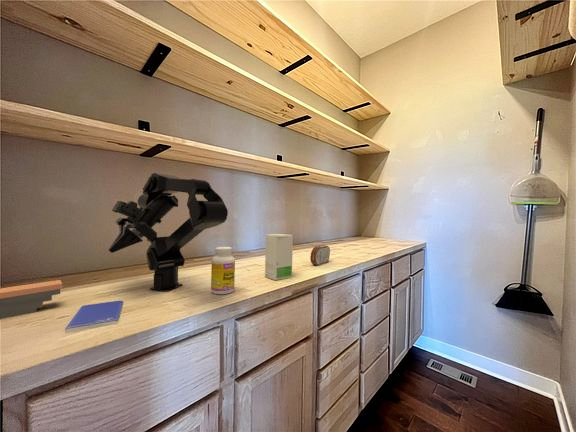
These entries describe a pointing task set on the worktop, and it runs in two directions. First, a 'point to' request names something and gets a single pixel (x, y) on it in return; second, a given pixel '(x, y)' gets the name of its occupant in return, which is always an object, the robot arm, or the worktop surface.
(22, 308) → the domino
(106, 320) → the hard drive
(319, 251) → the tin
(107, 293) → the worktop surface
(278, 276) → the skincare box
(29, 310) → the domino
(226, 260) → the supplement bottle
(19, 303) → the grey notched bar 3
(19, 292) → the domino
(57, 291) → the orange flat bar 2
